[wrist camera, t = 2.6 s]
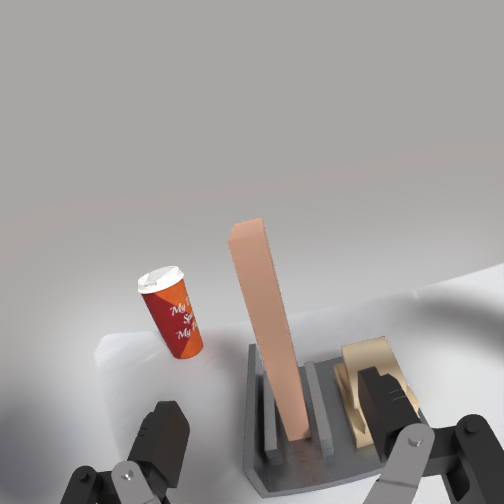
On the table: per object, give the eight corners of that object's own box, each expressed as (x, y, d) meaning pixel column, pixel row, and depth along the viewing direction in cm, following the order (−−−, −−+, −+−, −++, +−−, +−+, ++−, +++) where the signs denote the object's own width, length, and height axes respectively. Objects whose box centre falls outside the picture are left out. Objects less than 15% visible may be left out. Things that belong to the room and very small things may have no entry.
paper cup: (204, 360, 42) (172, 278, 38) (161, 365, 42) (126, 288, 39) (212, 333, 49) (187, 260, 45) (174, 339, 50) (146, 270, 46)
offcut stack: (333, 375, 30) (329, 343, 29) (381, 361, 29) (381, 328, 28) (356, 448, 19) (356, 419, 18) (417, 426, 19) (424, 394, 18)
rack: (261, 381, 34) (249, 344, 32) (381, 351, 33) (380, 312, 31) (262, 497, 18) (242, 469, 16) (436, 450, 16) (451, 411, 15)
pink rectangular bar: (285, 403, 28) (234, 223, 23) (304, 399, 28) (261, 217, 22) (288, 441, 23) (227, 241, 17) (311, 436, 22) (263, 232, 17)
